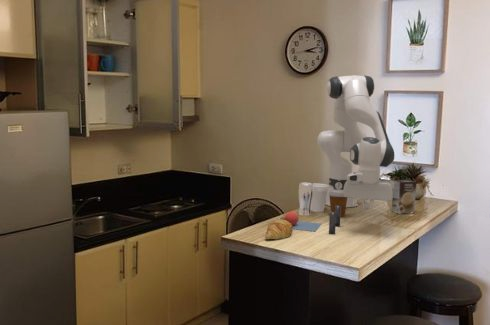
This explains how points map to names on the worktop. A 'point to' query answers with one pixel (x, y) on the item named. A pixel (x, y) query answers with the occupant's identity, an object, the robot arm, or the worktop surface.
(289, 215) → the ball
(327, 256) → the worktop surface
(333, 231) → the post
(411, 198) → the coffee box
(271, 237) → the croissant
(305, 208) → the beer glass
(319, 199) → the foam cup
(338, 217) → the post
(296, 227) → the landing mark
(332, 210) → the disposable coffee cup
